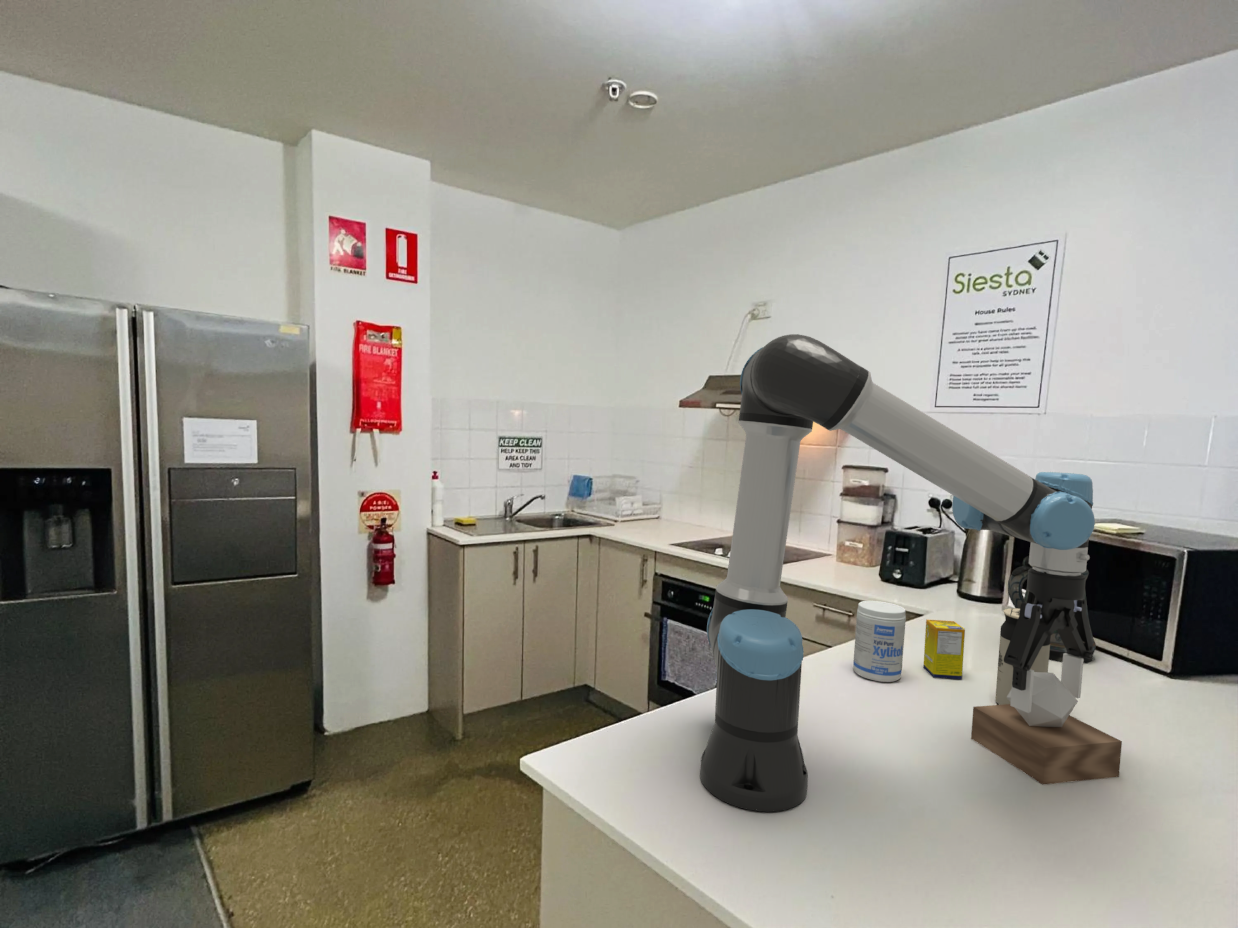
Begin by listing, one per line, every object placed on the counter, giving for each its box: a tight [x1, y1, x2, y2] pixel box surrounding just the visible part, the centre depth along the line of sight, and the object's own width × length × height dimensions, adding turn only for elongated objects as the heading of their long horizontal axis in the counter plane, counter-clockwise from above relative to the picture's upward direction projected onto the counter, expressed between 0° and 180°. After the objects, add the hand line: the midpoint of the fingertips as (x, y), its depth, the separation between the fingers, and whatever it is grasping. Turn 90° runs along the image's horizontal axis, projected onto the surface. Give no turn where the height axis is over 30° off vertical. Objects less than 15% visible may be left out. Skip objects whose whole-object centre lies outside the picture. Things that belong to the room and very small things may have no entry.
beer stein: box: [1007, 555, 1097, 664], centre depth 153 cm, size 16×19×25 cm
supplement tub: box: [852, 600, 907, 683], centre depth 134 cm, size 10×10×15 cm
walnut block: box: [970, 704, 1123, 785], centre depth 102 cm, size 14×14×6 cm
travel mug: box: [995, 607, 1051, 705], centre depth 121 cm, size 8×8×18 cm
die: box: [1007, 672, 1079, 727], centre depth 102 cm, size 8×9×10 cm
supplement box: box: [922, 619, 966, 680], centre depth 136 cm, size 6×6×11 cm
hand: (1046, 701), depth 102 cm, fingers open, 13 cm apart
